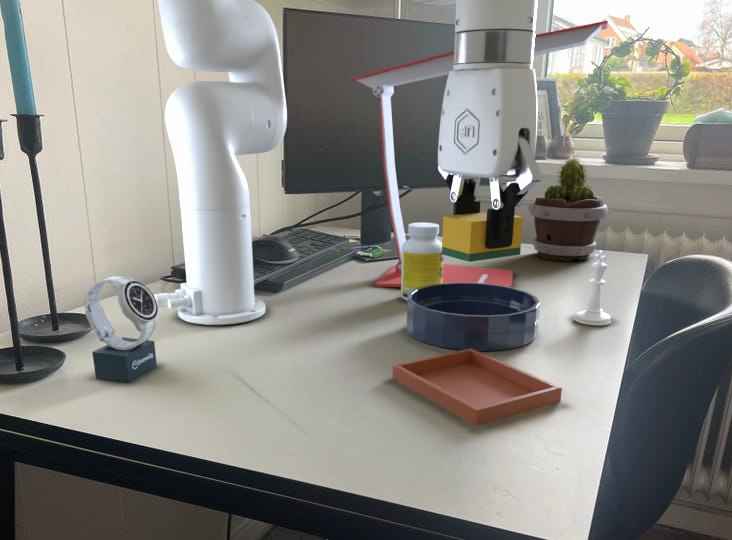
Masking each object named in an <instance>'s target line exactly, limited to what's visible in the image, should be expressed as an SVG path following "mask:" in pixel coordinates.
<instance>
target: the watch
mask: <svg viewBox="0 0 732 540" xmlns="http://www.w3.org/2000/svg"><path fill="white" fill-rule="evenodd" d="M106 284H111V289H112V290H113V291H114V293H115V295H116V300H117V306H118V308H119V310H120V311H121V313H122V314H123V316H124V317H125V318H126V319H127V320H129V321H130V322H132V324H133V325H134V327H135V328H136V331H138V332H140V334H139V336H138V338H132V337H124V336H123V337H118V335H117V334H116V329H115V328H114V327H113V325H112V324H111V322H110V321H109V319H108V317H107V315H106V313H105V311H104V307H101V302H100V301H99V299H100V293H101V290H102V289H103V287H104V286H105V285H106ZM84 299H85V300H84V308H85V311H84V313H85V316H86V318H87V321H88V323H89V325H90V327H91V329H92V331H93V332H94V334H95V336H96V337H97V338H98V339H99V341H100V342H103V343H104V344H106V345H104V346H102V347H100V348H98V349H95V350H94V351H92V352H91V353H92V360H93V367H94V375H95V379H99V380H105V381H106V380H107V381H111V382H112V381H113V382H120V383H126V384H129V383H131V382H133V381H135V380H137V379H138V378H139V377H142V376H143V375H145V374H146V373H148V372H150V371H152V370H153V369H155V368H156V367H157V366H158V365H157V353H156V345H155V344H156V343H155V340H150V338H151V336H152V335H153V334H154V331H155V329H156V326H157V323H158V314H159V308H158V304H157V301H156V299H155V297H154V293H153V292H152V290H151V288H149V287H148V286H147V285H146V284H145V283H143V282H141V281H139V280H135V279H134V278H132V277H128V276H125V275H114V276H113V275H112V276H110V277H107V278H104V279H101V280H98V281H96V282H94V283H93V284H92V285H90V287H89V288H88V290H87V293H86V294H85V298H84Z"/></svg>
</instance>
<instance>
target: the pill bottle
mask: <svg viewBox="0 0 732 540" xmlns="http://www.w3.org/2000/svg"><path fill="white" fill-rule="evenodd" d="M439 233H440V225H439V224H438V223H434V222H412V223H409V224H408V228H407V234H408V235H409V239H406V242H404V244H403V246H402V273H401V287H400V296H401V298H402V299H403V300H404V301H406V302H408V294H409V293H410V292H411V291H413V290H414V289H417V288H420V287H424V286H428V285H434V284H441V283H442V281H443V264H444V258H445V257H444V256H445V255H443V254H442V241H440V240H439V239H438V236H439Z"/></svg>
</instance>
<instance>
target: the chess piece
mask: <svg viewBox="0 0 732 540" xmlns="http://www.w3.org/2000/svg"><path fill="white" fill-rule="evenodd" d="M593 257H594V259H597V261H596V262H594V263H592V264H591V270H592V275H593V278H591V279H589V281H588V283H590V284H591V285H592V289H591V294H590V298H589V302H588V306H587V307H585V308H584V309H585V310H580V311H578V312H576V313H575V316H574V321H575V322H577V323H579V324H582V325H587V326H595V327H596V326H600V327H601V326H607V325H610V324H611V323H612V321H611V320H612V316H611V315H609V314H608V313H606V312H603V311H604V309H602V307H601V285H602V286H603V285H605V284H606V280H604V279H603V276H604V274H605V271H606V270H607V267H608V265H607V264H606V263H604V262H603V261H606V260H607V255H604V250H598V253H595V254H594V256H593Z"/></svg>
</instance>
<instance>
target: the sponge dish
mask: <svg viewBox="0 0 732 540" xmlns="http://www.w3.org/2000/svg"><path fill="white" fill-rule="evenodd" d="M391 374H392V379H393V380H395V381H396V382H398V383H400V384H402V385H403V386H405V387H407V388H409V389H411V390H412V391H414V392H416V393H418V394H419V395H421V396H423V397H425V398H427V399H428V400H430V401H432V402H434V403H435V404H437V405H439V406H441V407H442V408H444V409H446V410H448V411H450V412H451V413H453V414H455V415H457V417H458V416H459V417H460V418H462V419H464V420H465V421H467V422H469V423H471V424H472V425H474V426H479V425H483V424H486V423H490V422H493V421H497V420H501V419H504V418H507V417H510V416H511V417H512V416H514V415H518V414H522V413H524V412H529V411H532V410H535V409H536V410H537V409H539V408H543V407H546V406H550V405H554V404H557V403H561V400H562V391H563V387H562V386H559V385H557V384H555V383H553V382H550V381H548V380H546V379H544V378H541V377H539V376H536V375H534V374H532V373H530V372H527V371H525V370H522V369H521V368H518V367H516V366H513V365H511V364H510V363H506V362H505V361H503V360H499V359H498V358H494V357H493V356H491V355H488V354H486V353H484V352H482V351H477V350H474V349H472V348H470V349H466V350H457V351H452V352H447V353H443V354H438V355H433V356H429V357H425V358H424V357H423V358H419V359H414V360H410V361H406V362H401V363H400V362H399V363H395V364H392V373H391Z"/></svg>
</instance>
